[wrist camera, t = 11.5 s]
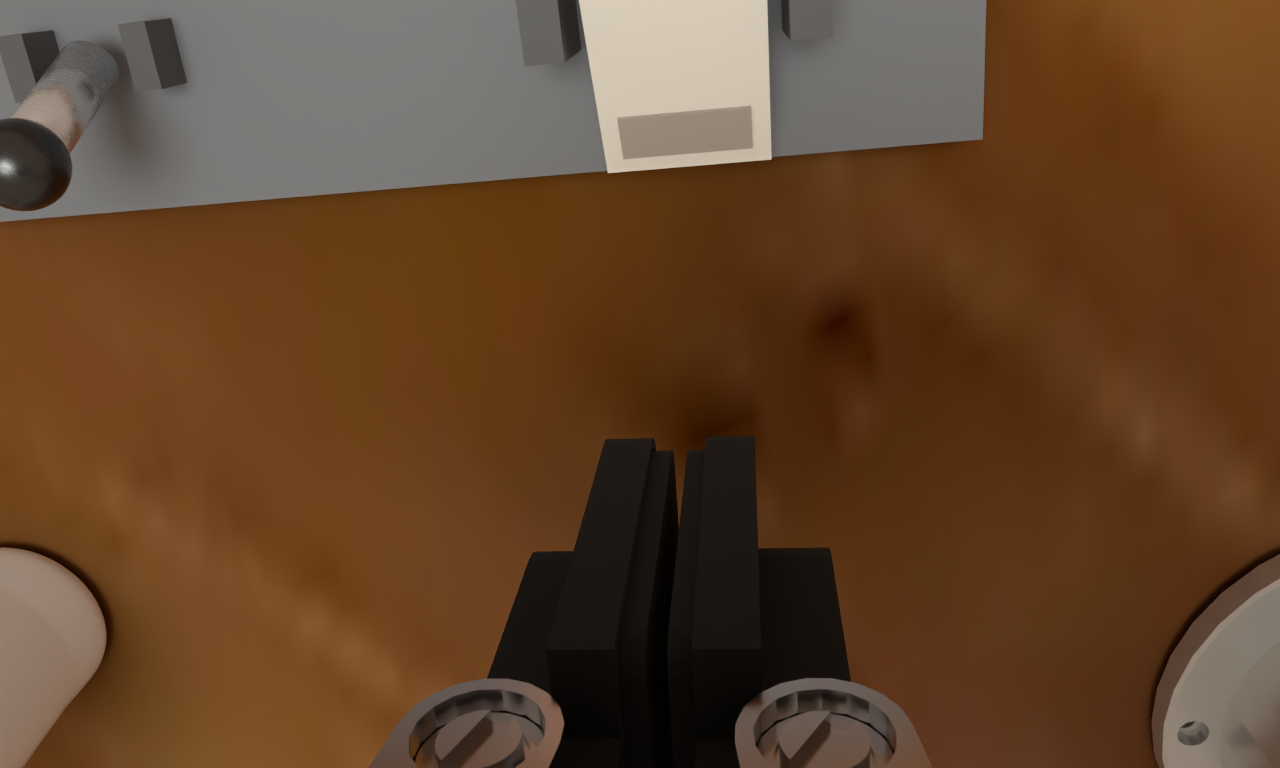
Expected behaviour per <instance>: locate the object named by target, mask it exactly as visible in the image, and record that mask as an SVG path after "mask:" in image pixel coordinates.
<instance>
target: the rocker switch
mask: <svg viewBox="0 0 1280 768" xmlns="http://www.w3.org/2000/svg"><path fill="white" fill-rule="evenodd" d="M579 5H580V11H581V17H582V23H583V29H584V35H585V41H586V47H587V53H588V58H589V64H590V70H591V76H592V82H593V88H594V94H595V100H596V106H597V112H598V118H599V124H600V130H601V136H602V142H603V148H604V154H605V160H606V166H607V171H608V173H616V172H628V171H640V170H652V169H664V168H676V167H688V166H700V165H712V164H724V163H736V162H748V161H760V160H772V154H771V117H770V81H769V45H768V8H767V0H579Z"/></svg>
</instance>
